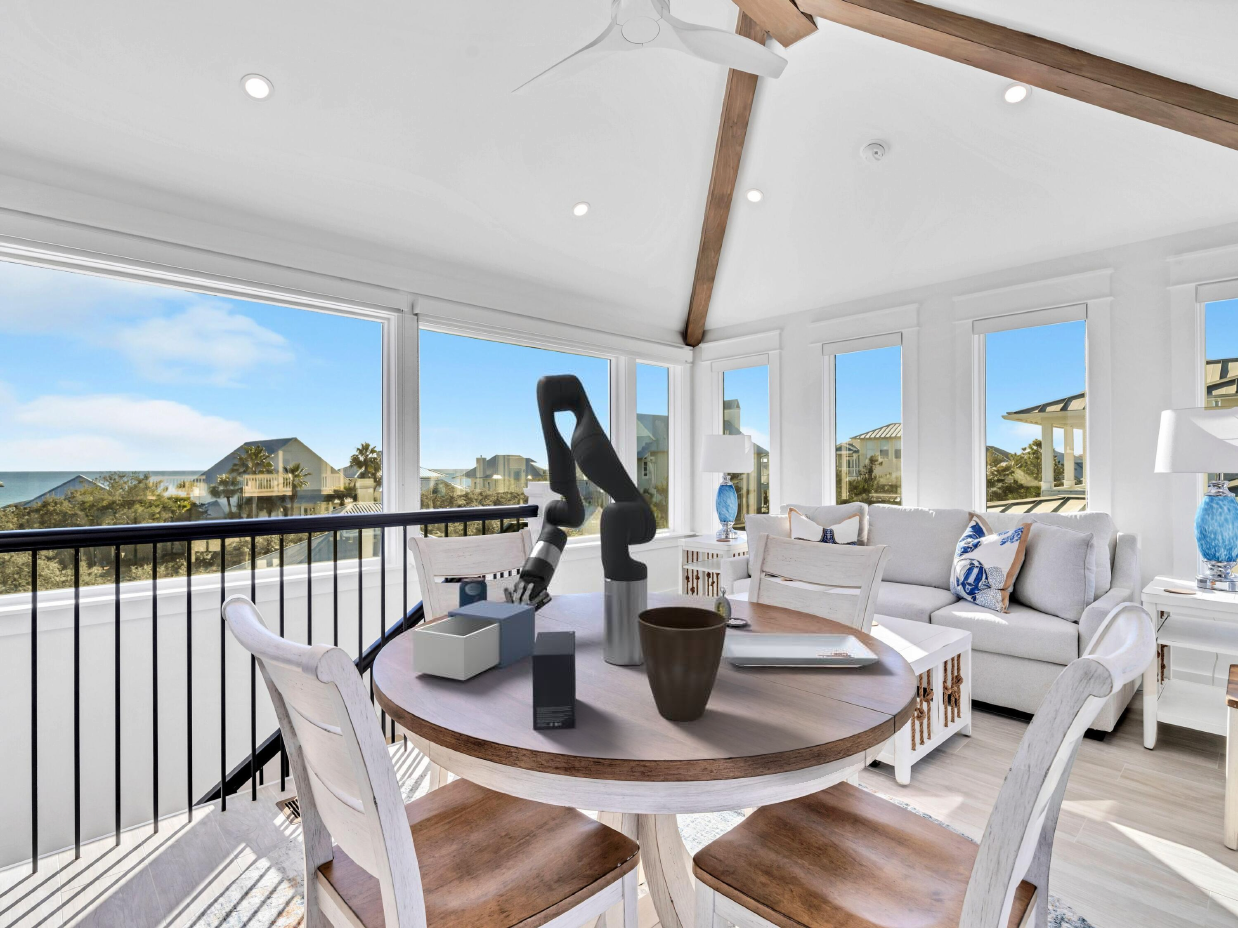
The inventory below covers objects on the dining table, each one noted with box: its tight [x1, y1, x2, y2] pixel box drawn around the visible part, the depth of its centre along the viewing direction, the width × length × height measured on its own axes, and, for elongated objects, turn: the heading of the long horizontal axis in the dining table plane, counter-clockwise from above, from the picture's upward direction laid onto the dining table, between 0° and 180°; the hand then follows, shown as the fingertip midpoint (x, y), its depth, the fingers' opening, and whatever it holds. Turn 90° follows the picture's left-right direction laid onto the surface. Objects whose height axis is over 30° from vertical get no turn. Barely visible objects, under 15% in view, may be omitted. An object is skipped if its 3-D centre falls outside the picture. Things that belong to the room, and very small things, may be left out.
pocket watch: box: [714, 586, 749, 627], centre depth 160 cm, size 8×8×10 cm
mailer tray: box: [412, 616, 501, 681], centre depth 129 cm, size 12×24×8 cm, turn 155°
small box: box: [531, 630, 577, 731], centre depth 103 cm, size 13×7×12 cm, turn 4°
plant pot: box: [637, 605, 728, 722], centre depth 103 cm, size 15×15×16 cm
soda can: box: [458, 576, 488, 608], centre depth 158 cm, size 7×7×12 cm
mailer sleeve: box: [447, 600, 536, 669], centre depth 134 cm, size 14×12×10 cm
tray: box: [721, 632, 880, 666], centre depth 132 cm, size 17×31×4 cm, turn 88°
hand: (512, 626), depth 141 cm, fingers closed
